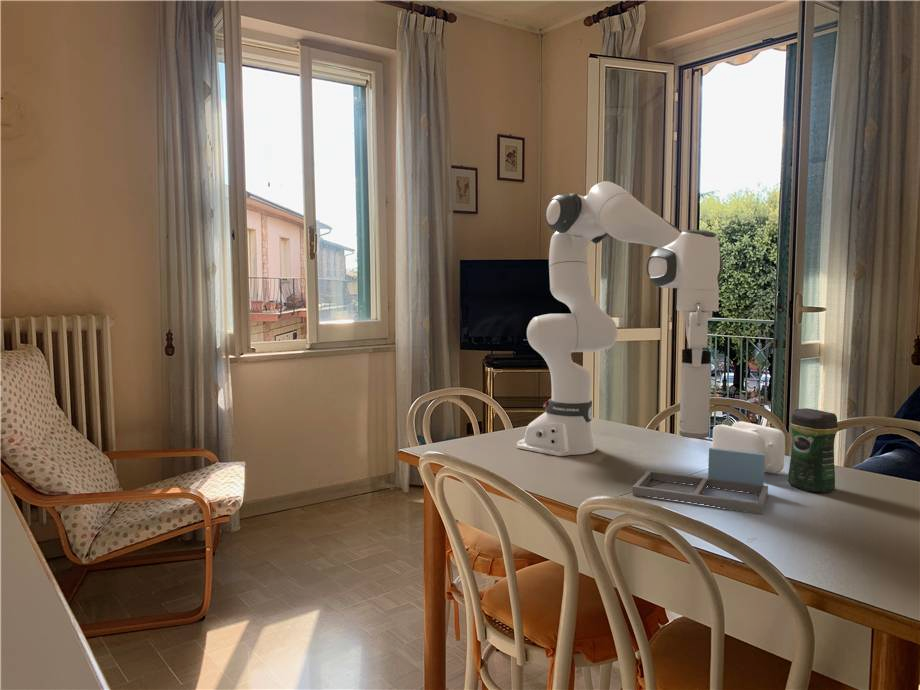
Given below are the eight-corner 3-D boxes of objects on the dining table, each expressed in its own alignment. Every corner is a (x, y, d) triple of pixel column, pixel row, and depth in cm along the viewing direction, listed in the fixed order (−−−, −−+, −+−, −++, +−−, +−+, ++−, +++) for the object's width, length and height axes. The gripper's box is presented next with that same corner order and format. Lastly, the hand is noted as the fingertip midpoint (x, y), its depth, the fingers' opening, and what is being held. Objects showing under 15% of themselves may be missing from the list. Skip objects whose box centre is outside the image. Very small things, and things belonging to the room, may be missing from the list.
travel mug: (673, 436, 156) (676, 347, 154) (687, 431, 160) (689, 345, 159) (700, 440, 151) (703, 349, 150) (713, 435, 156) (716, 347, 154)
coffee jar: (841, 491, 159) (845, 412, 158) (817, 495, 156) (821, 414, 154) (805, 480, 168) (808, 405, 166) (781, 484, 165) (785, 407, 163)
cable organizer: (708, 466, 180) (709, 422, 179) (736, 461, 185) (737, 418, 184) (756, 481, 167) (759, 434, 166) (785, 475, 172) (787, 429, 171)
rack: (632, 495, 157) (633, 456, 156) (649, 476, 171) (650, 441, 170) (761, 514, 144) (763, 472, 143) (768, 493, 158) (769, 454, 157)
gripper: (715, 304, 143) (713, 370, 144) (709, 301, 162) (708, 360, 163) (683, 304, 144) (681, 369, 146) (681, 301, 164) (680, 359, 165)
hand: (695, 364), depth 155 cm, fingers closed on travel mug, 6 cm apart
